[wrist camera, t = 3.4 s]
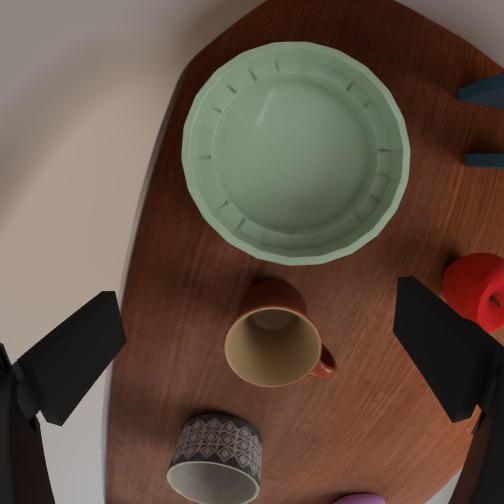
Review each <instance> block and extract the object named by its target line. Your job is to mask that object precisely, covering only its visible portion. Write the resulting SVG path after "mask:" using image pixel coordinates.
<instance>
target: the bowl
mask: <svg viewBox="0 0 504 504" xmlns="http://www.w3.org/2000/svg"><path fill="white" fill-rule="evenodd" d="M181 160H182V164H183V169H184V173H185V178H186V182H187V187H188V190H189V192H190V194H191V196H192V198H193V200H194V201H195V203H196V205H197V207H198V209H199V210H200V212H201V214H202V216H203V218H204V219H205V220H206V221H207V222H208V223H209V224H210V225H211V226H212V227H213V228H214V229H215V230H216V231H217V232H218V233H219V234H220V235H221V236H222V237H223V238H224V239H225V240H226V241H227V242H229V243H230V244H232V245H234V246H235V247H237V248H239V249H241V250H243V251H244V252H246V253H248V254H250V255H252V256H254V257H255V258H258V259H262V260H266V261H270V262H275V263H279V264H284V265H288V266H289V265H290V266H295V265H313V264H323V263H326V262H329V261H332V260H335V259H338V258H340V257H343V256H346V255H349V254H351V253H353V252H355V251H356V250H358V249H359V248H360V247H362V246H363V245H365V244H366V243H367V242H369V241H370V240H372V239H373V238H374V237H376V236H377V235H378V234H379V233H380V231H381V230H382V229H383V228H384V226H385V225H386V224H387V222H388V221H389V220H390V218H391V217H392V216H393V215H394V213H395V212H396V210H397V208H398V206H399V203H400V201H401V198H402V195H403V193H404V190H405V188H406V185H407V182H408V175H409V163H410V145H409V140H408V135H407V130H406V126H405V121H404V118H403V116H402V114H401V112H400V110H399V108H398V106H397V104H396V102H395V100H394V98H393V97H392V95H391V93H390V91H389V90H388V89H387V87H386V86H385V85H384V84H383V83H382V82H381V81H380V80H379V79H378V78H377V77H376V76H375V75H374V74H373V73H372V72H371V71H370V70H369V69H368V68H367V67H366V66H365V65H363V64H361V63H360V62H358V61H356V60H355V59H353V58H351V57H350V56H348V55H346V54H344V53H343V52H341V51H339V50H336V49H333V48H329V47H326V46H322V45H318V44H314V43H310V42H274V43H270V44H267V45H264V46H260V47H257V48H254V49H251V50H248V51H245V52H242V53H241V54H239V55H238V56H236V57H235V58H233V59H232V60H230V61H229V62H227V63H226V64H224V65H223V66H222V67H220V68H219V69H217V70H216V71H215V72H214V73H213V75H212V76H211V77H210V78H209V80H208V81H207V82H206V83H205V85H204V86H203V87H202V88H201V90H200V91H199V92H198V93H197V95H196V96H195V99H194V101H193V104H192V106H191V109H190V111H189V114H188V116H187V119H186V121H185V124H184V129H183V141H182V155H181Z"/></svg>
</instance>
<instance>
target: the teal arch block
mask: <svg viewBox="0 0 504 504" xmlns="http://www.w3.org/2000/svg"><path fill="white" fill-rule="evenodd" d="M458 95H459V100H460V101H465V102H470V103H475V104H480V105H484V106H489V107H493V108H497V109H501V110H504V73H502V74H499V75H496V76H493V77H491V78H488V79H485V80H482V81H479V82H477V83H474V84H471V85H469V86H466V87H463V88H461V89H458ZM465 166H471V167H482V168H492V169H501V170H504V153H486V154H465Z"/></svg>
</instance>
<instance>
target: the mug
mask: <svg viewBox="0 0 504 504" xmlns="http://www.w3.org/2000/svg"><path fill="white" fill-rule="evenodd" d="M223 349H224V355H225V359H226V361H227V363H228V365H229V367H230V368H231V369H232V371H233V372H234V373H235V374H236V375H237V376H239V377H240V378H241V379H243V380H245V381H246V382H248V383H251V384H253V385H256V386H261V387H267V388H277V387H284V386H288V385H291V384H294V383H297V382H299V381H301V380H302V379H303V378H305V377H306V376H307V375H310V376H315V377H317V378H319V379H323V380H327V379H329V378H331V377H332V376H333V375H334V373H335V372H336V370H337V365H336V362H335V360H334V358H333V356H332V354H331V353H330V351H329V350H328V349H327V348H326V347H325V346H324V345H323V344H322V343H321V337H320V334H319V331H318V329H317V327H316V326H315V324H314V323H313V322H312V321H311V320H310V319H309V318H308V316H307V311H306V305H305V302H304V299H303V298H302V296H301V294H300V293H299V292H298V290H297V289H296V288H295V287H294V286H292V285H291V284H290V283H288V282H286V281H284V280H280V279H265V280H262V281H259V282H257V283H255V284H254V285H253V286H252V287H250V288H249V289H248V290H247V292H246V293H245V294H244V296H243V298H242V300H241V302H240V305H239V312H238V317H237V318H236V319H235V320H234V321H233V323H232V324H231V325H230V327H229V328H228V330H227V332H226V335H225V338H224V344H223Z"/></svg>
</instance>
